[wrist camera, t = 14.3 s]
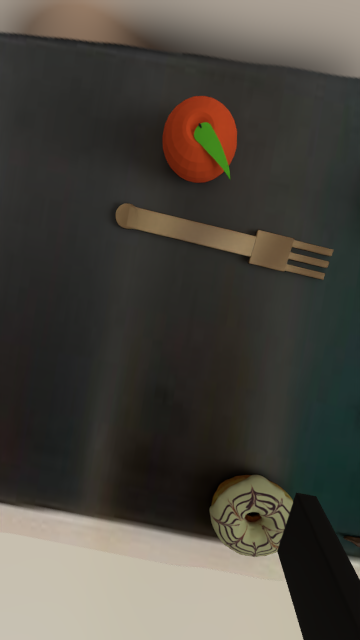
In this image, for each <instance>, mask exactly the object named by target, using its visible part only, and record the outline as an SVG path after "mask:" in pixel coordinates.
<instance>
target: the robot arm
mask: <svg viewBox="0 0 360 640" xmlns="http://www.w3.org/2000/svg"><path fill="white" fill-rule="evenodd" d="M277 551H278V555H279V558H280V561H281V565H282V568H283V572H284V575H285V578H286V582H287V585H288V588H289V592H290V595H291V599H292V602H293V605H294V609H295V612H296V615H297V619H298V622H299V626H300V629H301V632H302V635H303V639H304V640H360V579H359V578H358V576H357V574H356V572H355V570H354V568H353V566H352V564H351V562H350V560H349V558H348V557H347V555H346V553H345V551H344V549H343V547H342V545H341V543H340V541H339V539H338V537H337V535H336V534H335V532H334V530H333V528H332V526H331V524H330V522H329V520H328V518H327V516H326V514H325V512H324V511H323V509H322V507H321V505H320V503H319V501H318V499H317V497H316V496H311V495H306V494H300V493H296V495H295V498H294V501H293V504H292V507H291V510H290V513H289V516H288V520H287V523H286V526H285V529H284V532H283V535H282V538H281V541H280V544H279V547H278V550H277Z"/></svg>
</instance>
